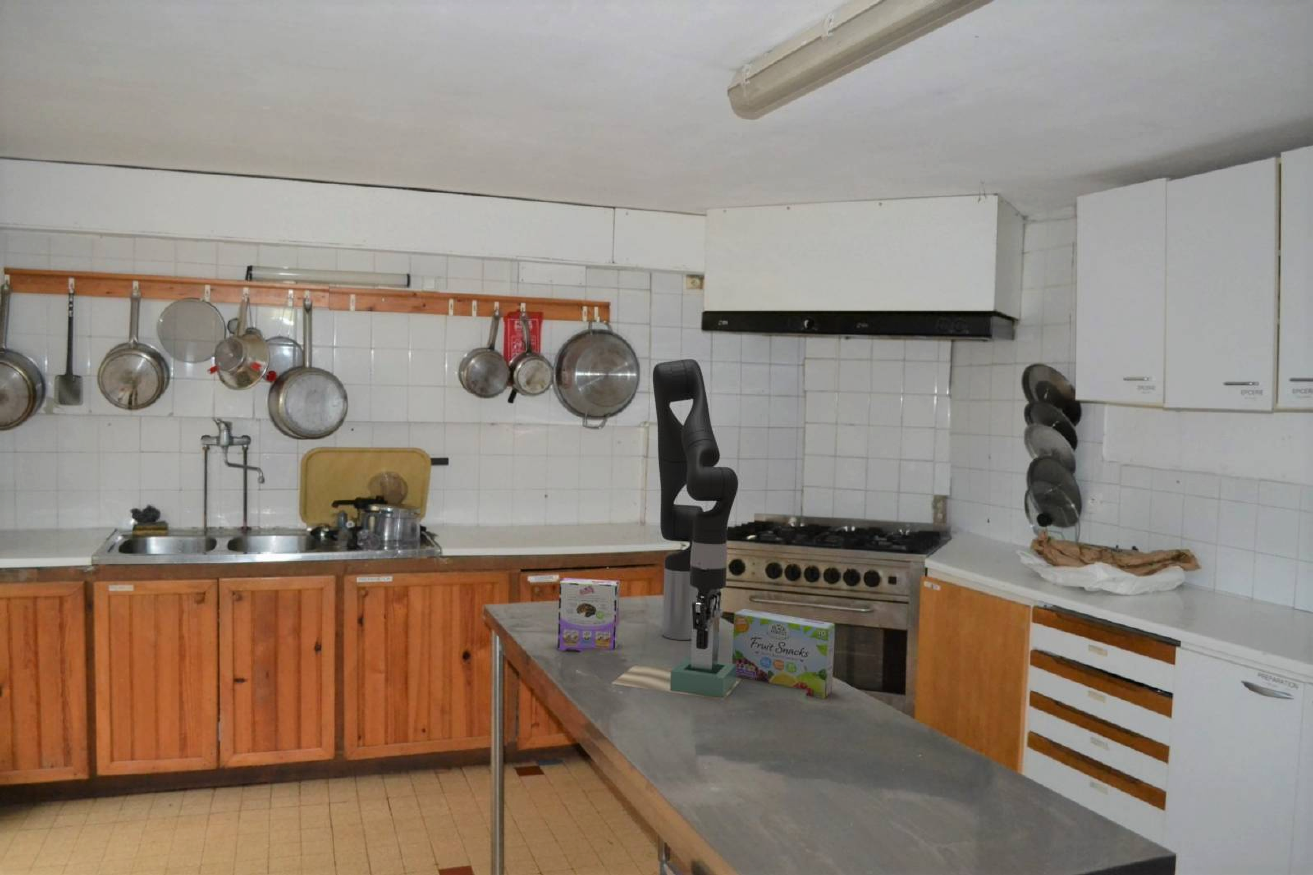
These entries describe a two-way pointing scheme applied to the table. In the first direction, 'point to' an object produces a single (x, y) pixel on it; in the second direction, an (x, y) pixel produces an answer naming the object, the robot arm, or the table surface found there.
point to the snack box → (784, 650)
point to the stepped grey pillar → (710, 654)
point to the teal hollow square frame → (703, 679)
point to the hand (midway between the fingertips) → (705, 645)
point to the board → (654, 680)
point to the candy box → (588, 614)
